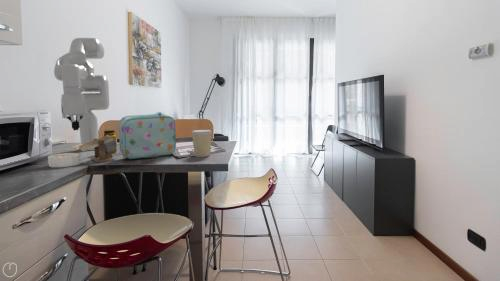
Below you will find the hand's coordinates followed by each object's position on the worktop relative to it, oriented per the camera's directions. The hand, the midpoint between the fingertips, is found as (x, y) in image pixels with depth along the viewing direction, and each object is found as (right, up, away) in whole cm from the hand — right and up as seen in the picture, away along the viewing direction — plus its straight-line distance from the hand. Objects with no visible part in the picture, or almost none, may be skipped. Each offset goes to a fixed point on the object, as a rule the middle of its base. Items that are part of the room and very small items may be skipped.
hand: (75, 129), depth 171 cm
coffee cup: (+60, -12, +4) cm, 61 cm away
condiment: (+9, -12, +18) cm, 23 cm away
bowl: (+1, -16, -12) cm, 20 cm away
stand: (+14, -14, -2) cm, 20 cm away
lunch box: (+34, -13, +4) cm, 37 cm away
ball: (-1, -15, -14) cm, 21 cm away
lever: (+9, -11, +1) cm, 14 cm away
